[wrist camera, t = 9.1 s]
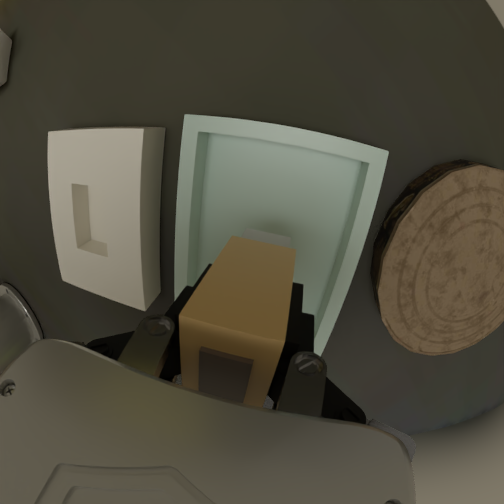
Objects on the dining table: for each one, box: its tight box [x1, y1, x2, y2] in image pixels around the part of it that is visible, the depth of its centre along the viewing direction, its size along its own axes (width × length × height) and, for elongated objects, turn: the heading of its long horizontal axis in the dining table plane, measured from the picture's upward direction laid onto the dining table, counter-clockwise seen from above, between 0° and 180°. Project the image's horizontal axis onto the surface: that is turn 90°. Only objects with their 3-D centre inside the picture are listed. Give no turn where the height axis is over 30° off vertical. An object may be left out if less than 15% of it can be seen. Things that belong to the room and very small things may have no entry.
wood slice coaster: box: [371, 159, 504, 356], centre depth 16 cm, size 16×16×3 cm
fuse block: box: [48, 127, 166, 311], centre depth 20 cm, size 14×10×3 cm
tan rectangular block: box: [179, 228, 296, 407], centre depth 12 cm, size 5×3×8 cm, turn 172°
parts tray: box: [174, 114, 389, 356], centre depth 19 cm, size 16×12×2 cm
